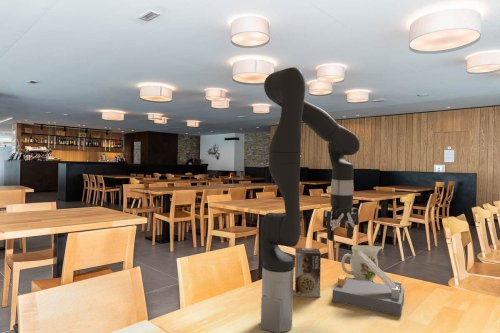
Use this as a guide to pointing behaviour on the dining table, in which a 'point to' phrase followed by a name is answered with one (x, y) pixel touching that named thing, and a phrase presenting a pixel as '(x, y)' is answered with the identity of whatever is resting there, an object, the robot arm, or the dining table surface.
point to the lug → (342, 280)
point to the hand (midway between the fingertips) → (340, 238)
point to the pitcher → (361, 262)
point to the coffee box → (307, 272)
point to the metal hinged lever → (377, 271)
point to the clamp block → (370, 296)
